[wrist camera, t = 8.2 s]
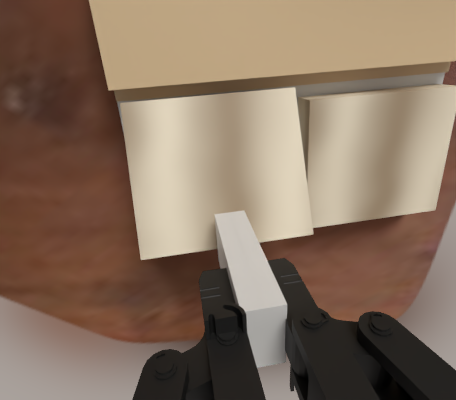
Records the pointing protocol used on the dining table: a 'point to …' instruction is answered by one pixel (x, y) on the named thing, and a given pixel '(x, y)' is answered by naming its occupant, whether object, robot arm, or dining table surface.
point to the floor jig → (271, 46)
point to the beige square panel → (375, 151)
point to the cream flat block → (215, 168)
